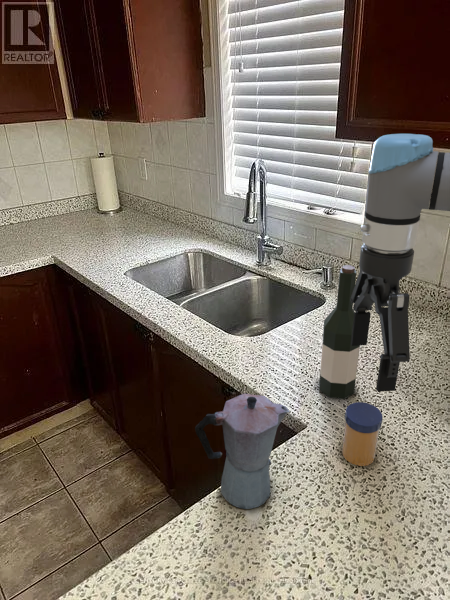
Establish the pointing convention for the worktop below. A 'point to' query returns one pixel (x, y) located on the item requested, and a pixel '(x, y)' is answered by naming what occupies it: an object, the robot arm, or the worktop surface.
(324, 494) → the worktop surface
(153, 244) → the worktop surface
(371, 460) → the jam jar
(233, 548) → the worktop surface
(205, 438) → the moka pot
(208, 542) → the worktop surface
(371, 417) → the jam lid
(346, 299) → the wine bottle
